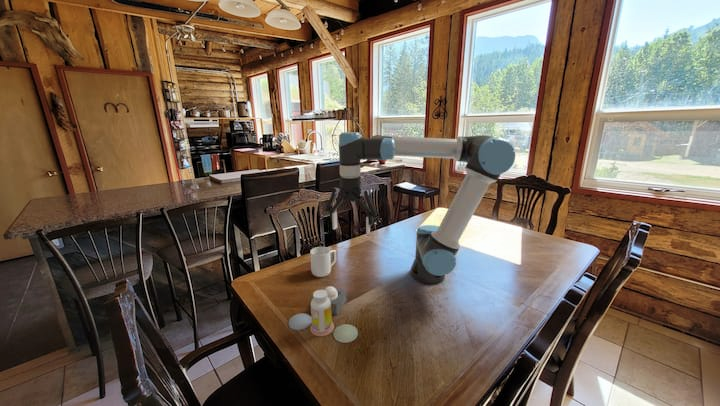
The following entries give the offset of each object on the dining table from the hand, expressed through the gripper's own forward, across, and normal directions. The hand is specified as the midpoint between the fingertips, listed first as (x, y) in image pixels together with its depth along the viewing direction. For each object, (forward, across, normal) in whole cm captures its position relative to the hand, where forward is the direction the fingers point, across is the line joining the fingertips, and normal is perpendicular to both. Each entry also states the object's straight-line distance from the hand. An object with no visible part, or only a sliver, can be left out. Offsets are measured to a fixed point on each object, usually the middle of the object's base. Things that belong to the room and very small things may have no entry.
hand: (351, 230), depth 110 cm
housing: (+26, +4, +12) cm, 29 cm away
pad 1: (+26, +11, +24) cm, 37 cm away
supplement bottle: (+26, +2, +24) cm, 35 cm away
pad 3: (+26, -6, +24) cm, 36 cm away
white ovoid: (+25, +4, +12) cm, 28 cm away
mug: (+27, +17, -10) cm, 33 cm away
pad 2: (+26, +2, +24) cm, 35 cm away
